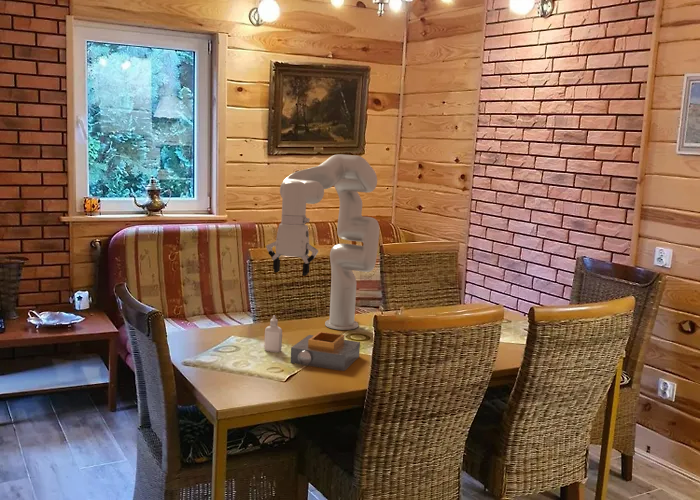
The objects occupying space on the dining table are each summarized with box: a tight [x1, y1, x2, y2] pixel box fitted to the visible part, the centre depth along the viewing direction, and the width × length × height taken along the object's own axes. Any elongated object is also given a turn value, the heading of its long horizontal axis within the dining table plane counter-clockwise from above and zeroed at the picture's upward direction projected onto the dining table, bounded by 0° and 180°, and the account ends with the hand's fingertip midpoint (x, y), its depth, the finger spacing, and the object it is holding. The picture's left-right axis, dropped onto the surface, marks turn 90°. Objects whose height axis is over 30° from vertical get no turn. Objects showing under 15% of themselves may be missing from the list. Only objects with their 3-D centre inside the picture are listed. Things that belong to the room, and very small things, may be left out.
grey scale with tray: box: [290, 331, 361, 372], centre depth 234 cm, size 18×18×8 cm
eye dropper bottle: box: [263, 315, 283, 353], centre depth 240 cm, size 4×6×12 cm
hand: (290, 273), depth 231 cm, fingers open, 9 cm apart
